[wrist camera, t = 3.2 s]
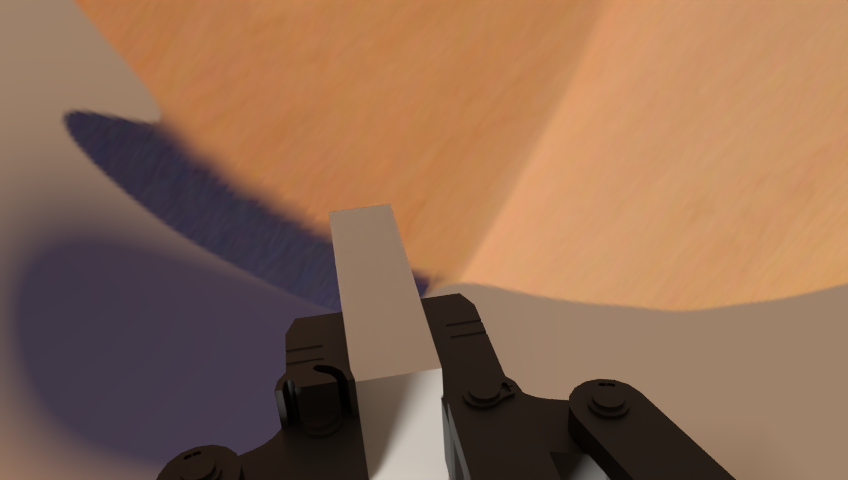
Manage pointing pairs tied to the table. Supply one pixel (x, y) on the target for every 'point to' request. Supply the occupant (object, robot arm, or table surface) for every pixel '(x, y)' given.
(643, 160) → the table surface
